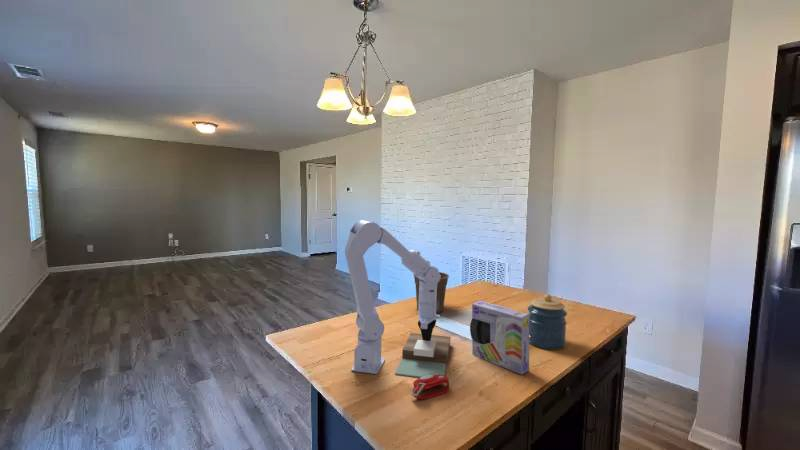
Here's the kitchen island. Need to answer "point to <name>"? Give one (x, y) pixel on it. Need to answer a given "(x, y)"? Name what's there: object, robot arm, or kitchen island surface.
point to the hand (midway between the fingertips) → (426, 342)
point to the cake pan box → (500, 336)
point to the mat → (419, 368)
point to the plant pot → (440, 291)
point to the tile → (425, 348)
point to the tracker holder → (429, 385)
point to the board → (440, 350)
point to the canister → (547, 323)
